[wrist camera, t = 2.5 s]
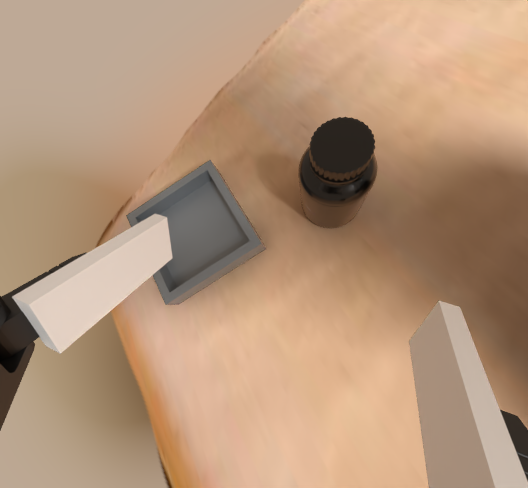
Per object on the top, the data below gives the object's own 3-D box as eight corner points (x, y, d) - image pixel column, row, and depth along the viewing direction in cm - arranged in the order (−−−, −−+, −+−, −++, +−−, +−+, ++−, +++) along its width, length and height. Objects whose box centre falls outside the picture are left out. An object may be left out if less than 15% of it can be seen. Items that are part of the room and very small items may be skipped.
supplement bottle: (290, 211, 31) (277, 158, 19) (321, 167, 31) (326, 90, 20) (339, 241, 29) (356, 202, 17) (371, 194, 29) (409, 125, 18)
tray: (218, 170, 34) (210, 159, 31) (266, 248, 30) (261, 243, 27) (140, 222, 34) (126, 215, 32) (178, 304, 31) (165, 304, 28)
